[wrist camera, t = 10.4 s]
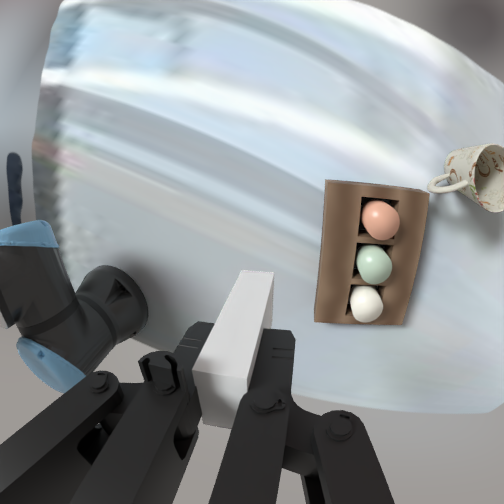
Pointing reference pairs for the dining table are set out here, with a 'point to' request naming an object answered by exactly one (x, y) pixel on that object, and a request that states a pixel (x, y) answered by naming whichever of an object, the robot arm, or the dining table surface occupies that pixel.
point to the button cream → (365, 302)
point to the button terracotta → (379, 219)
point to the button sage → (373, 263)
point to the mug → (475, 175)
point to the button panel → (348, 234)
